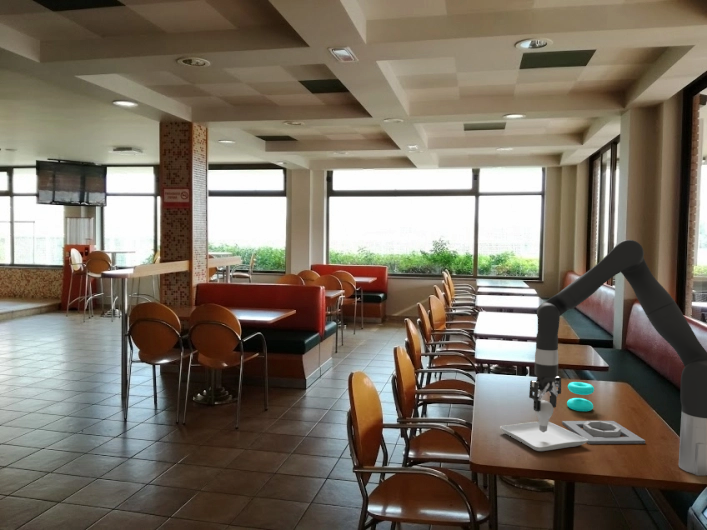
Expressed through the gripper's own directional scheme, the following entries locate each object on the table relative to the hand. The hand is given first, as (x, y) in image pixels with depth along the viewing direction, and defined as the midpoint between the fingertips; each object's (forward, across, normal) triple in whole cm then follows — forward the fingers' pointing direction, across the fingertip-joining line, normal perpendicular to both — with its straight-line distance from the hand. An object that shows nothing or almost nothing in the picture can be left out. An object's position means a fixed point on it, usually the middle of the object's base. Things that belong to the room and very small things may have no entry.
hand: (545, 408), depth 190 cm
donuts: (+11, +43, +15) cm, 47 cm away
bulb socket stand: (+11, +24, -6) cm, 27 cm away
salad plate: (+12, 0, +1) cm, 12 cm away
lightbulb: (+8, 0, +1) cm, 8 cm away
